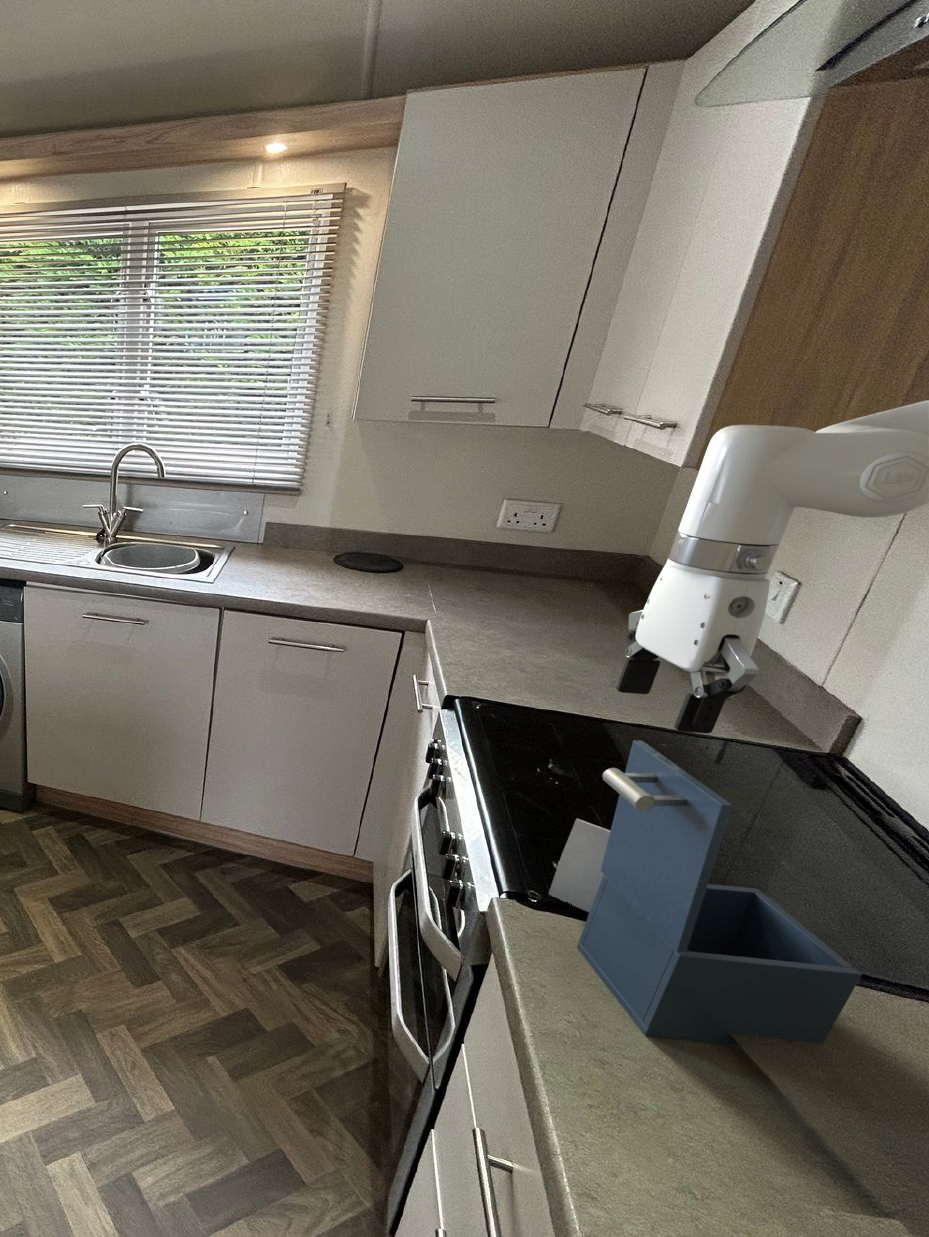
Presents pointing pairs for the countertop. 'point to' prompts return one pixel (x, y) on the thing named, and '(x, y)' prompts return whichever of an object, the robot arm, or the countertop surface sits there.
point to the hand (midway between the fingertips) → (660, 710)
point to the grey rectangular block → (581, 865)
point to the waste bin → (718, 969)
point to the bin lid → (663, 841)
